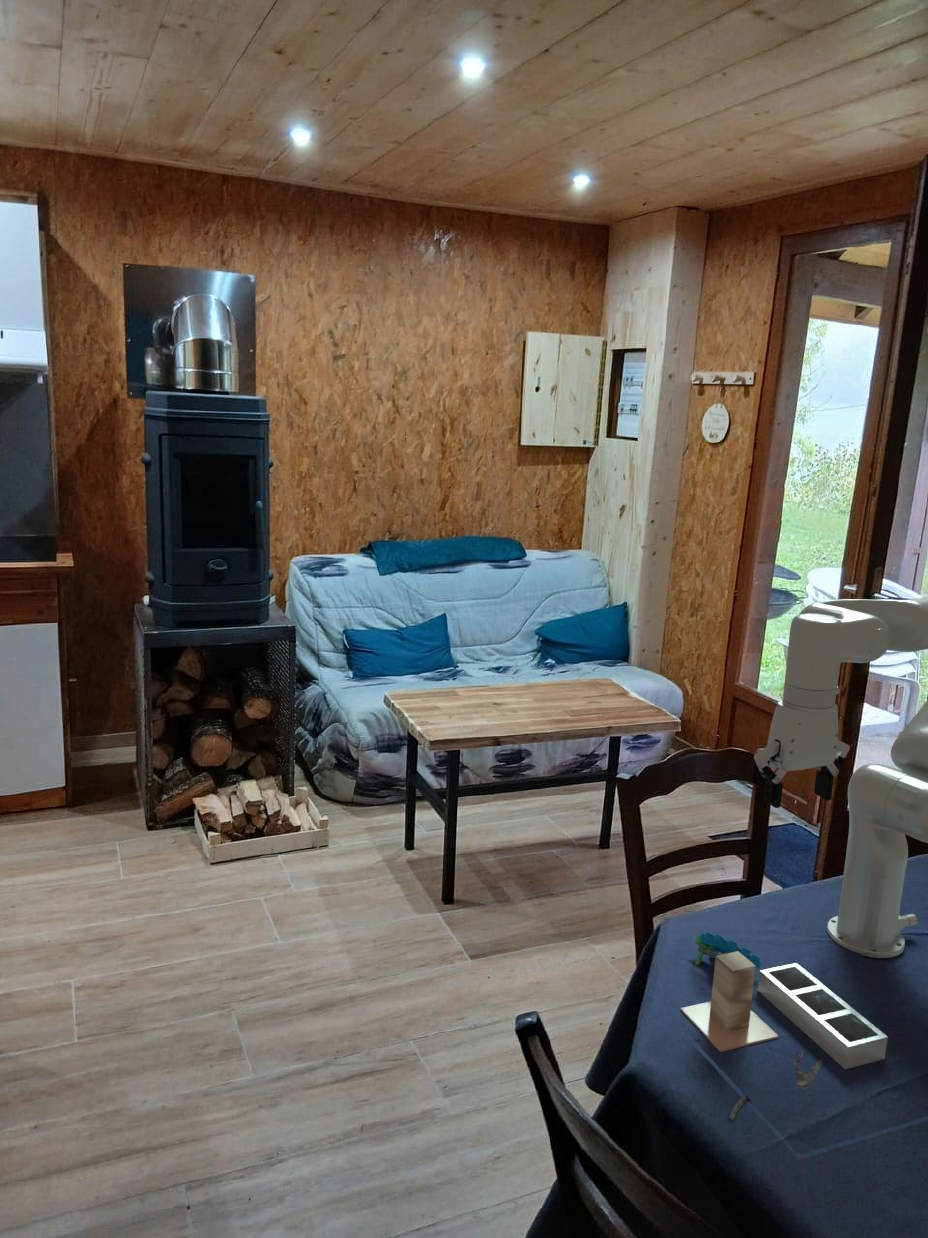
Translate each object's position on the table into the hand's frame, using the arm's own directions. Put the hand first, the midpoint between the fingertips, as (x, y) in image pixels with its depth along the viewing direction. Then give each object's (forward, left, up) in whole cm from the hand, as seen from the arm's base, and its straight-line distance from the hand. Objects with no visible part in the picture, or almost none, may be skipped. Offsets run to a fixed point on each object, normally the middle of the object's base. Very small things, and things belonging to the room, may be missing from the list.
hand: (797, 800), depth 146 cm
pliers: (+18, +23, -31) cm, 42 cm away
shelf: (+3, +13, -30) cm, 33 cm away
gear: (+8, -4, -31) cm, 32 cm away
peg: (+16, +9, -29) cm, 35 cm away
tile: (+16, +9, -30) cm, 35 cm away
